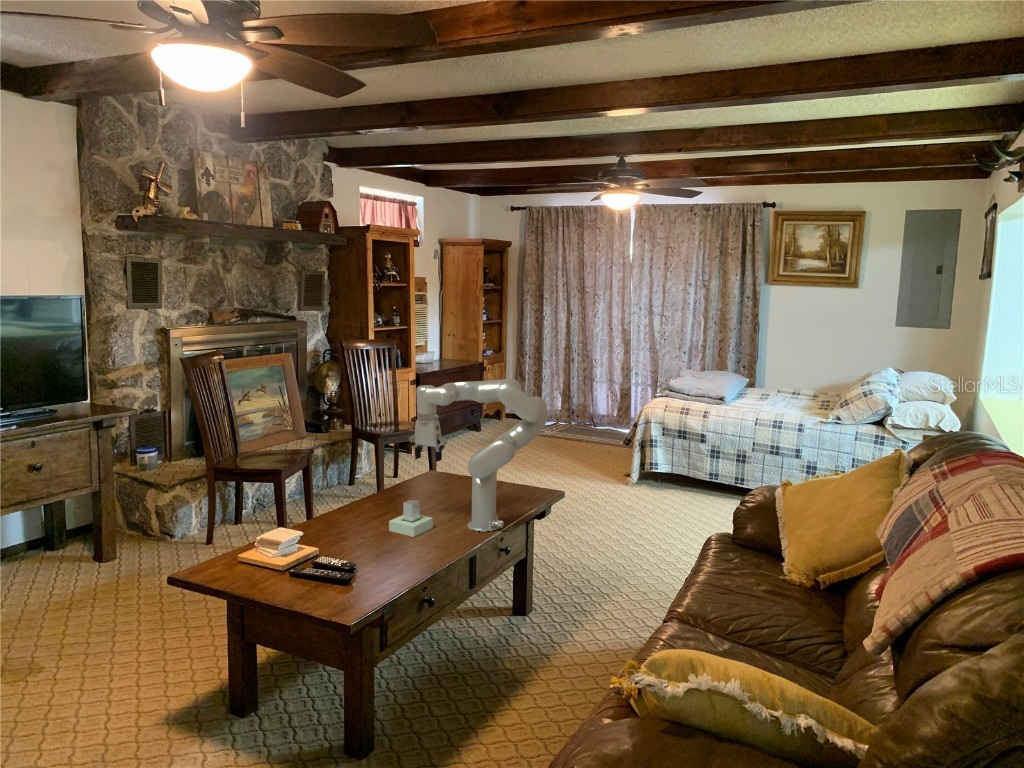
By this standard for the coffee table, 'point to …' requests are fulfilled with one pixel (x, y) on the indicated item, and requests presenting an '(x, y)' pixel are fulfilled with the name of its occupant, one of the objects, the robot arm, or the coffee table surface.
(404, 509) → the steel bar
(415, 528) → the well block
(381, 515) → the coffee table surface
